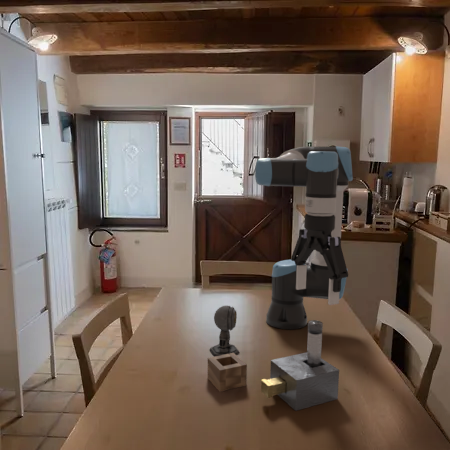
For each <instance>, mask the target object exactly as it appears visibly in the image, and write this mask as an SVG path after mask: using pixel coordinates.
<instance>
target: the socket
mask: <svg viewBox="0 0 450 450" xmlns="http://www.w3.org/2000/svg"><path fill="white" fill-rule="evenodd" d="M277 377H281V378H283V379H284V380H285V381H286V382H287V389H286V392H285V393H281V394H277V396H278V397H279V398H280V399H281V400H283V401H284V402H285V403H286V404H287V405H288V406H289V407H291V409H292V410H294V411H295V412H296V411H301V410H303V409H307V408H310V407H314V406H317V405H321V404H322V405H323V404H325V403H328V402H332V401H336V400H338V398H339V397H338V396H339V381H340V380H339V378H340V369H338V368H337V367H336V366H334V365H333V364H331V363H329V362H328V361H326V360H324V358H322V357H321V366H318V367H314V368H311V367H310V366H308V365H307V351H306V352H303V353H297V354H293V355H289V356H283V357H278V358H274V359H270V375H269V379H272V378H277Z"/></svg>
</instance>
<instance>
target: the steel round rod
mask: <svg viewBox="0 0 450 450" xmlns="http://www.w3.org/2000/svg"><path fill="white" fill-rule="evenodd" d="M323 324H324V323H323V322H322V321H321V320H314V319H313V320H309V321H307V343H306V344H307V346H306V347H307V348H306V352H307V365H308V366H310V367H311V368H314V367H318V366H321V358H322V344H323V343H322V341H323V329H324V328H323V326H324V325H323Z"/></svg>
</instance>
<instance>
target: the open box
mask: <svg viewBox="0 0 450 450" xmlns="http://www.w3.org/2000/svg"><path fill="white" fill-rule="evenodd" d="M247 369H248V365H247V363H246V362H244V360H242V359H241V358H240V357H239V356H238V354H237V355H235V354H234V353H230V354H225V355H220V356H215V357H214V356H210V357H207V379H208V381H210V383H211V384H212V385H213V386H214V387H215V388H216V389H217V390H218V392H224V391H227V390H233V389H237V388H240V387H245V386H247V378H248V377H247V373H248V370H247Z"/></svg>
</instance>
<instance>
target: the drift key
mask: <svg viewBox="0 0 450 450" xmlns="http://www.w3.org/2000/svg"><path fill="white" fill-rule="evenodd" d="M260 383H261V384H260V392H261V393H262V394H263V395H264V396H265V397H266V398H267V399H270V398H273V397H274V396H276V395H277V394H281V393H285V392H286V389H287V382H286V381H285V380H284V379H283V378H281V377H277V378H272V379H270V378H268V379H266V378H263V379H261V382H260ZM277 396H278V395H277Z"/></svg>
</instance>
